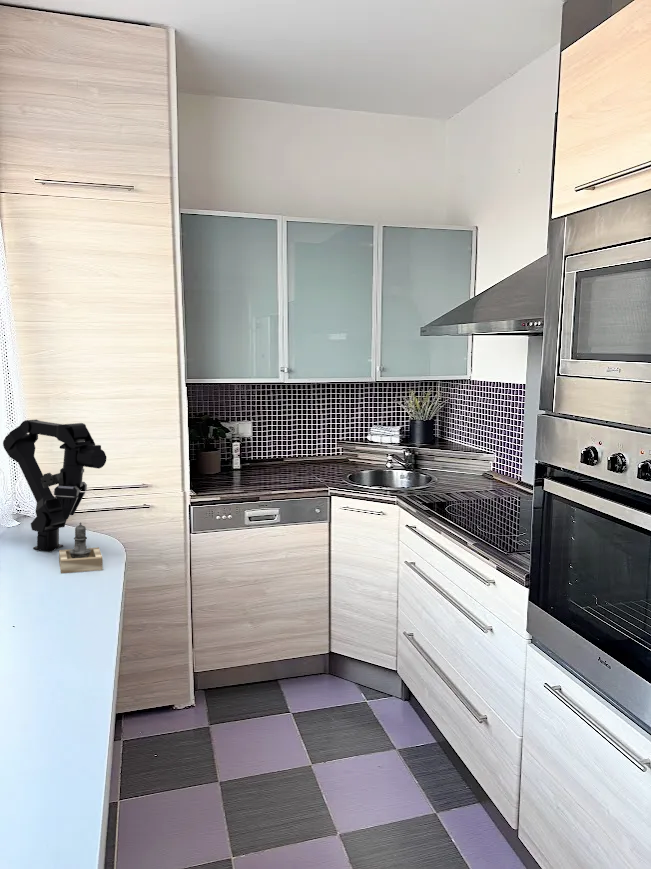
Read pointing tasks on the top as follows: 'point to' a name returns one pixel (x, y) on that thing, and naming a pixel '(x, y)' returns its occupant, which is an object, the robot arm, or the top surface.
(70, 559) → the shaker caddy
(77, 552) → the weathered stone finial
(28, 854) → the top surface
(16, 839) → the top surface
